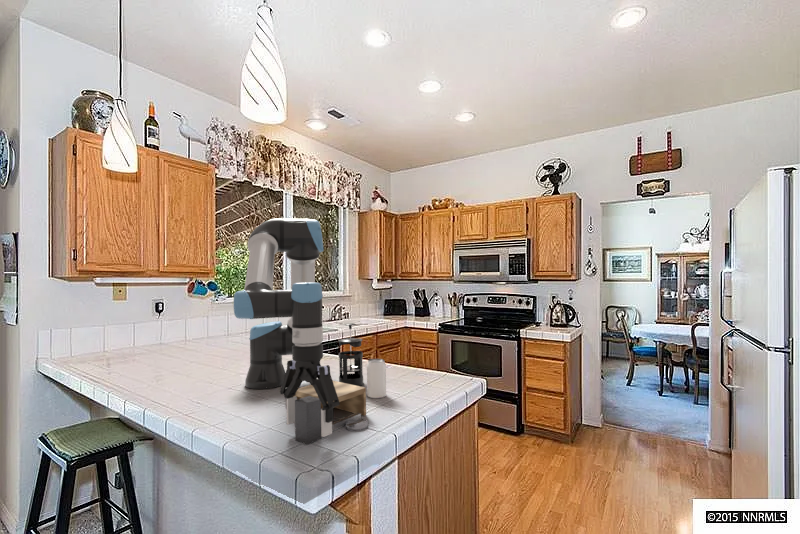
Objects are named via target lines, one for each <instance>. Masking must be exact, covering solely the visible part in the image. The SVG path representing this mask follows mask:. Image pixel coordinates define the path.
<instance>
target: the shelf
mask: <svg viewBox="0 0 800 534" xmlns="http://www.w3.org/2000/svg"><path fill="white" fill-rule="evenodd" d="M332 381H333V384H334V387H335V390H336V393H337V396H338V399H339V402H340V404H339V405H338V406H336V407H334V408H335V409H339V410H341V411H342V410H343V411H345V412H350V413H351V414H354V413H361V416H363V417H364V416H366V415H367V395H366V394H367V387H364V386H362V387H360V386H356V385H351V384H347V383H342V382H339V380H338V381H336V380H333V379H332ZM295 396H296V397H297V399H300V398H304V397H307V396H312V397H316V398H319V397H318V395H317V393H316V391H315V389H314V387H313V386H312V385H310V384H308V385H305V386H300V387H299V388H298V390H297V392H296V394H295ZM293 397H294V396H293ZM333 402H334V401H333ZM327 403H328V402H327ZM322 408H323V405H322V403H321V409H322ZM334 408H333V409H334Z"/></svg>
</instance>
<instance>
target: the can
mask: <svg viewBox="0 0 800 534" xmlns="http://www.w3.org/2000/svg"><path fill="white" fill-rule="evenodd" d="M367 361H368V362H367V364H366V394H367V395H366V396H367V397H368V398H370V399H383V398H385V397H386V396H387V364H386V362H385V359H383V358H373V359H372V358H370V359H368V360H367Z"/></svg>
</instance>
